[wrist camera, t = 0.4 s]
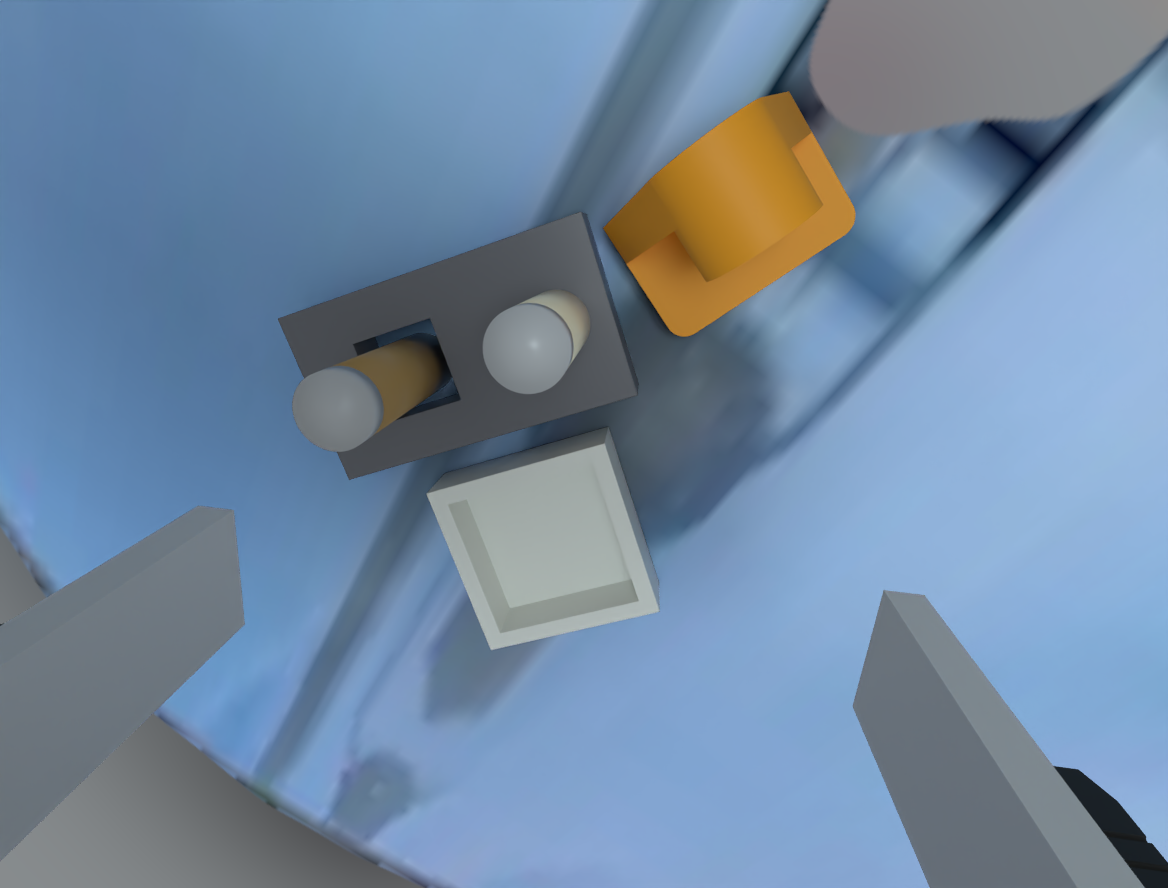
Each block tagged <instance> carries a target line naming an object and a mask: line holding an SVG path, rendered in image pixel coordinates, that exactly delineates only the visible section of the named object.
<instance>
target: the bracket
mask: <svg viewBox="0 0 1168 888" xmlns="http://www.w3.org/2000/svg"><path fill="white" fill-rule="evenodd" d="M854 221H855V209H854V206H853V204H852V203H851V201H850V199H849V197H848V195H847V194H846V192H845V190H844V188H843V187H842V185H841V183H840V181H839V180H838V178H837V176H836V174H835V172H834V171H833V169H832V167H831V165H830V164H829V162H828V160H827V158H826V156H825V155H824V153H823V151H822V149H821V148H820V146H819V144H818V142H817V140H816V139H815V137H814V135H813V133H812V132H811V130H810V128H809V126H808V124H807V123H806V121H805V119H804V117H803V116H802V114H801V112H800V110H799V109H798V107H797V105H796V103H795V101H794V100H793V98H792V96H791V94H790V93H789V92H784V93H780V94H775V95H771V96H766V97H762V98H759V99H757V100H755V101H753V102H752V103H750V104H748V105H747V106H745V107H744V108H742V109H741V110H739V111H738V112H736V113H735V114H733V115H732V116H730V117H729V118H727V119H726V120H725V121H723V122H722V123H720V124H719V125H718V126H716V127H715V128H714V129H712V130H711V131H709V132H708V133H707V134H705V135H704V136H703V137H701V138H700V139H699V140H697V141H696V142H695V143H693V144H692V145H691V146H690V147H688V148H687V149H686V150H684V151H683V152H682V153H681V154H679V155H678V156H677V157H676V158H674V159H673V160H672V161H671V162H670V163H668V164H667V165H666V166H665V167H664V168H662V169H661V170H660V171H659V172H658V173H657V174H655V175H654V176H653V177H652V178H651V179H650V180H649V181H648V182H647V183H646V184H645V185H644V186H643V187H642V188H641V189H640V190H639V191H638V193H637V194H636V195H635V196H634V197H633V198H632V199H631V200H630V201H629V202H628V203H627V204H626V205H625V206H624V207H623V208H622V209H621V210H620V211H619V212H618V213H617V214H616V215H615V216H614V217H613V218H612V219H611V220H610V221H609V222H608V224H607V225H606V226H605V227H604V228H603V229H604V230H605V232H606V233H607V235H608V237H609V238H610V240H611V241H612V243H613V244H614V246H615V247H616V249H617V250H618V252H619V253H620V255H621V256H622V258H623V260H624V261H625V263H626V264H627V266H628V267H629V269H630V270H631V272H632V273H633V275H634V276H635V278H636V279H637V281H638V282H639V284H640V286H641V287H642V289H643V290H644V292H645V293H646V295H647V296H648V298H649V299H650V301H651V302H652V304H653V305H654V307H655V309H656V310H657V312H658V313H659V315H660V316H661V318H662V319H663V321H664V322H665V324H666V325H667V327H668V328H669V330H670V331H671V332H672V333H674V334H675V335H678V336H683V337H686V336H690V335H693V334H695V333H696V332H698V331H699V330H701V329H702V328H704V327H705V326H707V325H708V324H710V323H712V322H713V321H715V320H716V319H718V318H719V317H721V316H722V315H724V314H725V313H727V312H728V311H730V310H731V309H733V308H734V307H736V306H737V305H739V304H740V303H742V302H744V301H745V300H747V299H748V298H750V297H751V296H753V295H754V294H756V293H757V292H759V291H760V290H762V289H763V288H765V287H766V286H768V285H769V284H771V283H772V282H774V281H775V280H777V279H779V278H780V277H782V276H783V275H785V274H786V273H788V272H789V271H791V270H792V269H794V268H795V267H797V266H798V265H800V264H801V263H803V262H804V261H806V260H807V259H809V258H810V257H812V256H814V255H815V254H817V253H818V252H820V251H821V250H823V249H824V248H826V247H827V246H829V245H830V244H832V243H833V242H835V241H836V240H838V239H839V238H841V237H842V236H844V235H845V234H847V233H848V232H849V231H850V229H851V228H852V226H853V224H854Z"/></svg>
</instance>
